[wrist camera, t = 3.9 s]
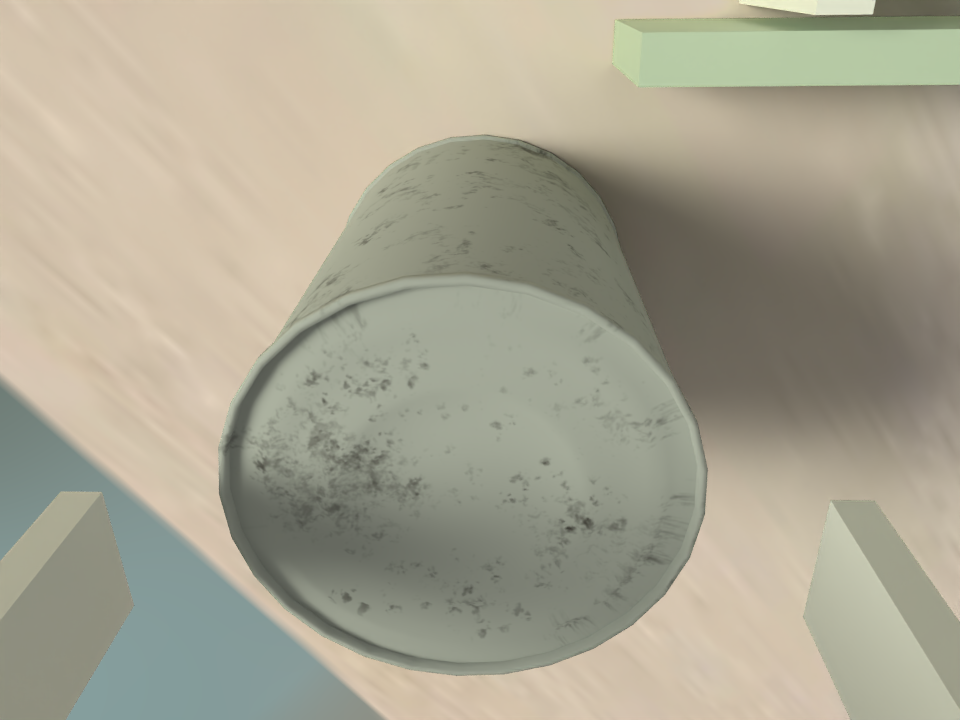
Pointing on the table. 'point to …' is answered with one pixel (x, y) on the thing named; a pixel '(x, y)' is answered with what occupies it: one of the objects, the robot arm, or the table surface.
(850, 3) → the pusher
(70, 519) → the robot arm
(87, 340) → the table surface
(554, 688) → the table surface
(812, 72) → the pale green open box
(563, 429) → the grey speckled cylinder
